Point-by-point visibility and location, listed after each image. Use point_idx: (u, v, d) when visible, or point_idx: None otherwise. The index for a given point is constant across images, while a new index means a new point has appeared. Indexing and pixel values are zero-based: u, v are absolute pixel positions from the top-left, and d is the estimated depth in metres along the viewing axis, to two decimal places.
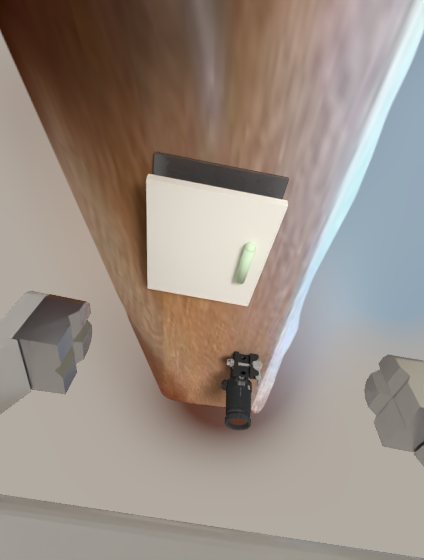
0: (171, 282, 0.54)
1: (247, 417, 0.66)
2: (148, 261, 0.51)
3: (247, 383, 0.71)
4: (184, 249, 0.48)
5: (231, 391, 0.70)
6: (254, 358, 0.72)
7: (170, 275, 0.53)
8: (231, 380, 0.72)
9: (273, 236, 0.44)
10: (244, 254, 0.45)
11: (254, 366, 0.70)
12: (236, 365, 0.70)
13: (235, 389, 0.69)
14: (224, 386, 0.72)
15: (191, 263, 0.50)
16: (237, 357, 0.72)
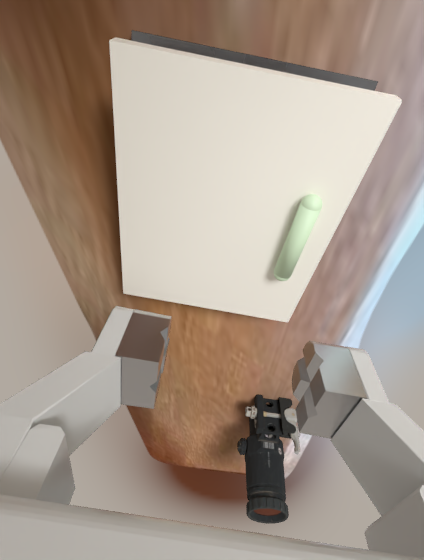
0: (162, 281, 0.32)
1: (283, 504, 0.41)
2: (122, 241, 0.29)
3: (277, 444, 0.47)
4: (186, 214, 0.26)
5: (254, 458, 0.45)
6: (286, 405, 0.48)
7: (161, 268, 0.31)
8: (253, 439, 0.48)
9: (357, 179, 0.23)
10: (299, 217, 0.24)
11: (287, 417, 0.47)
12: (261, 416, 0.46)
13: (260, 455, 0.45)
14: (242, 449, 0.47)
15: (197, 243, 0.28)
16: (261, 404, 0.48)
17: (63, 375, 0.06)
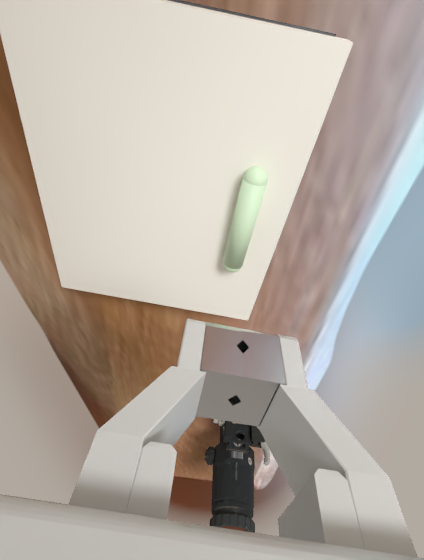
0: (102, 273, 0.28)
1: (249, 521, 0.37)
2: (49, 226, 0.25)
3: (247, 454, 0.43)
4: (115, 193, 0.23)
5: (221, 469, 0.42)
6: None
7: (98, 257, 0.27)
8: (221, 448, 0.44)
9: (308, 147, 0.19)
10: (242, 194, 0.20)
11: None
12: (229, 424, 0.43)
13: (228, 466, 0.41)
14: (209, 459, 0.44)
15: (134, 228, 0.25)
16: None
17: (158, 391, 0.06)
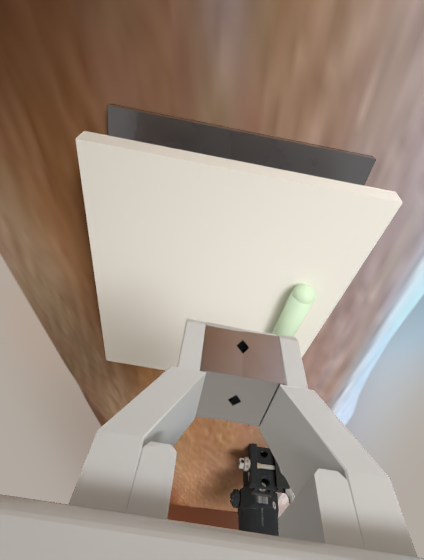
0: (147, 351, 0.30)
1: None
2: (102, 317, 0.27)
3: (271, 498, 0.45)
4: (169, 295, 0.25)
5: (247, 514, 0.44)
6: None
7: (144, 340, 0.29)
8: (246, 492, 0.46)
9: (353, 270, 0.21)
10: (290, 307, 0.22)
11: None
12: (254, 470, 0.44)
13: (254, 511, 0.43)
14: (235, 502, 0.46)
15: (182, 321, 0.26)
16: (255, 454, 0.46)
17: (158, 391, 0.06)
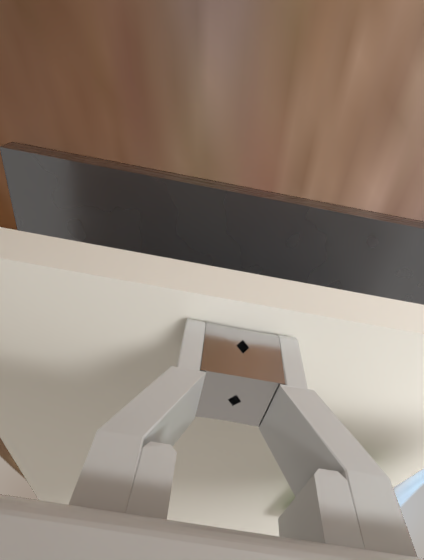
0: None
1: None
2: (23, 469, 0.17)
3: None
4: None
5: None
6: None
7: None
8: None
9: None
10: None
11: None
12: None
13: None
14: None
15: None
16: None
17: (158, 391, 0.06)
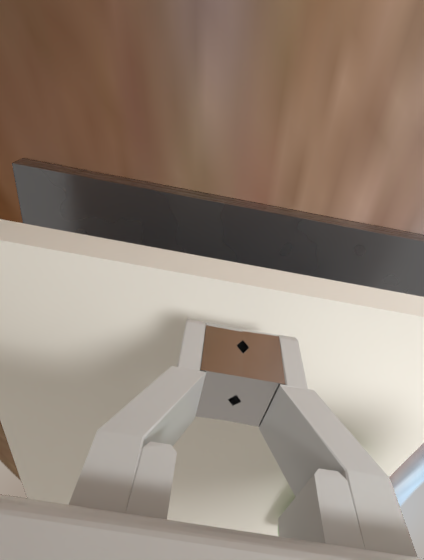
0: None
1: None
2: (23, 477, 0.17)
3: None
4: None
5: None
6: None
7: None
8: None
9: None
10: None
11: None
12: None
13: None
14: None
15: None
16: None
17: (158, 391, 0.06)
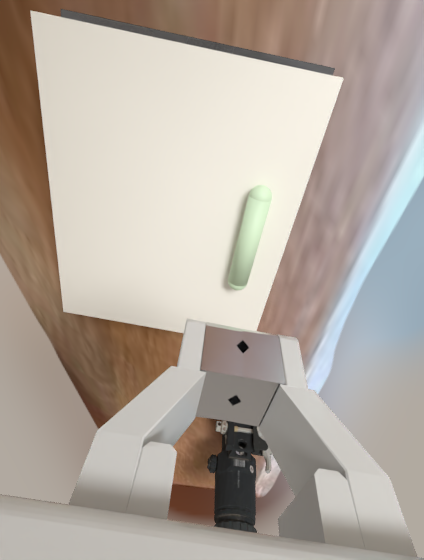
0: (107, 295, 0.28)
1: (251, 529, 0.38)
2: (58, 246, 0.26)
3: (249, 462, 0.44)
4: (126, 212, 0.24)
5: (223, 477, 0.42)
6: None
7: (103, 279, 0.27)
8: (223, 456, 0.45)
9: (307, 168, 0.21)
10: (248, 210, 0.22)
11: (260, 433, 0.44)
12: (231, 432, 0.43)
13: (230, 474, 0.42)
14: (212, 467, 0.44)
15: (142, 247, 0.25)
16: None
17: (157, 391, 0.06)
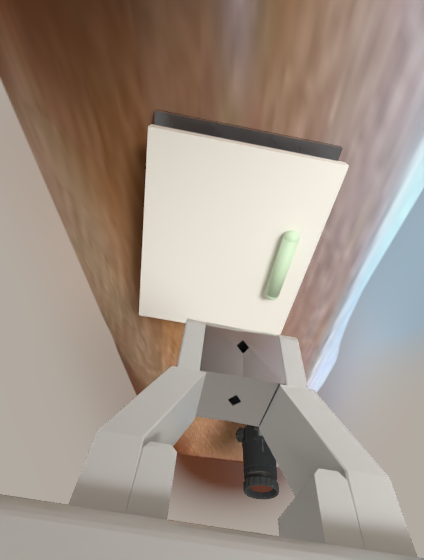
0: (173, 303, 0.39)
1: (274, 482, 0.49)
2: (142, 269, 0.36)
3: None
4: (195, 246, 0.34)
5: (250, 444, 0.53)
6: None
7: (172, 291, 0.38)
8: (249, 429, 0.55)
9: (324, 219, 0.31)
10: (283, 247, 0.32)
11: None
12: None
13: (255, 442, 0.53)
14: (240, 437, 0.55)
15: (203, 270, 0.36)
16: None
17: (158, 391, 0.06)
